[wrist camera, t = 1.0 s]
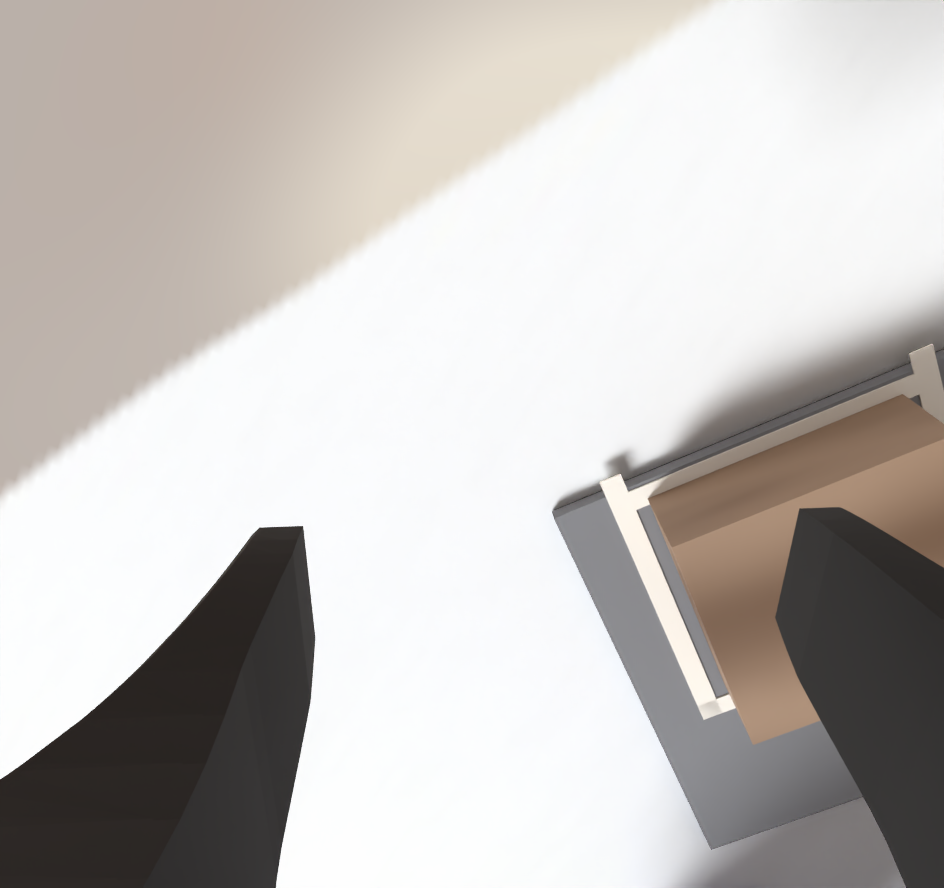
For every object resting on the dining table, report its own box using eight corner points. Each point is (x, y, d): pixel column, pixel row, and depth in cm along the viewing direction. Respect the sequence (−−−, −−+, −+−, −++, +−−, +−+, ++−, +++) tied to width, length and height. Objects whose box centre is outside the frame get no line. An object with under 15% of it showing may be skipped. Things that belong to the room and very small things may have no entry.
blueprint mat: (1256, 646, 27) (1269, 656, 26) (707, 839, 29) (711, 850, 29) (1224, 213, 21) (1240, 216, 21) (545, 496, 24) (547, 504, 23)
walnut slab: (954, 597, 25) (1006, 652, 23) (724, 683, 26) (753, 744, 24) (902, 394, 22) (956, 433, 20) (647, 498, 23) (671, 547, 21)
